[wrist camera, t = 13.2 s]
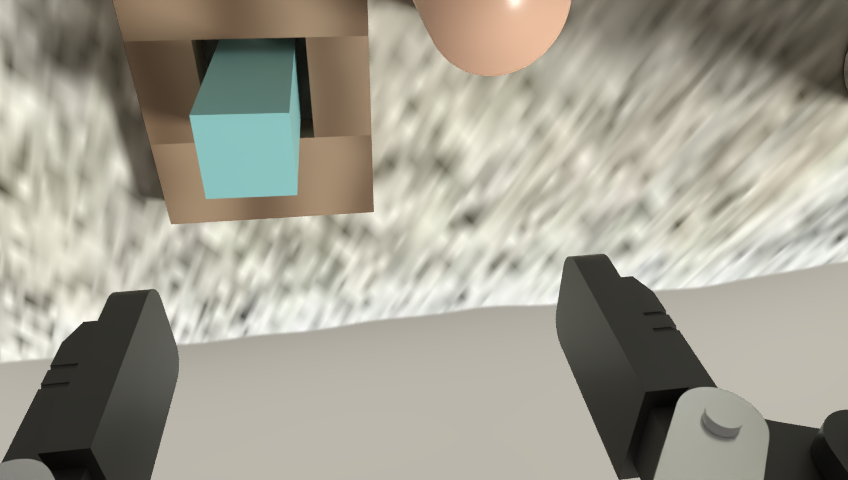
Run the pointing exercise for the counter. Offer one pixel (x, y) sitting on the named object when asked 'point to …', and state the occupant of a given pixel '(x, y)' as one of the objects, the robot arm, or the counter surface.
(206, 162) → the square peg
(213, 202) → the board
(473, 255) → the counter surface
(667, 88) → the counter surface
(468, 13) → the round peg
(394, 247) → the counter surface
